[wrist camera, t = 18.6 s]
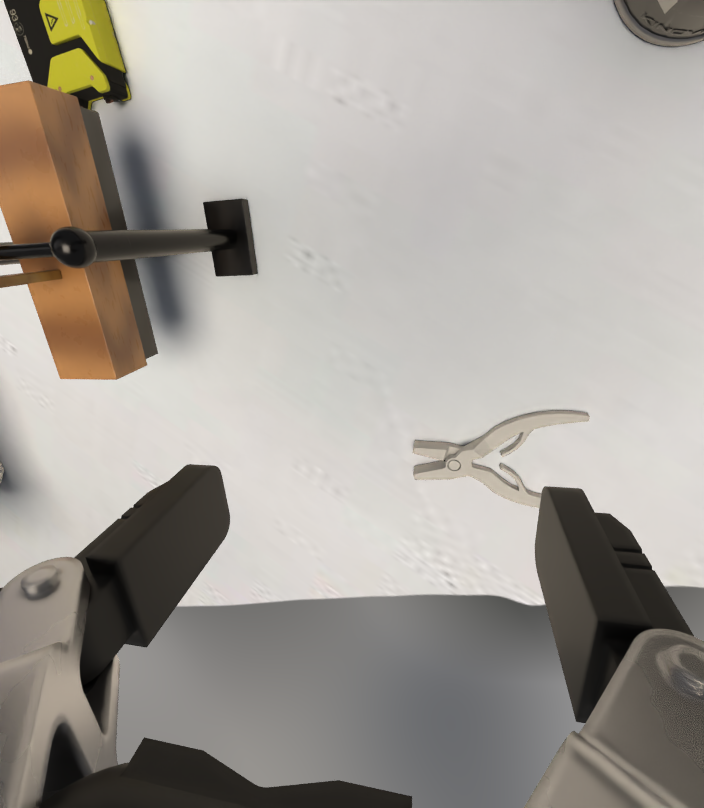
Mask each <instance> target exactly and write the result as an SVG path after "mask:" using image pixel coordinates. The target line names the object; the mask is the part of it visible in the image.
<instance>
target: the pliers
mask: <svg viewBox="0 0 704 808" xmlns="http://www.w3.org/2000/svg"><path fill="white" fill-rule="evenodd" d="M589 417H590V416H589V415H588V414H587V413H583V412H576V411H565V410H555V411H542V412H536V413H531V414H526V415H522V416H519V417H515V418H513V419H510V420H507V421H505V422H503V423H501V424H499V425H497V426H495V427H494V428H493V429H491V430H490V431H489V432H488V433H486V434H485V435H484V436H482V437H480V438H478V439H476V440H474V441H472V442H471V443H469V444H467V445H466V446H460V445H456V444H452V443H445V442H431V441H416V440H415V443H414V447H413V453H414V454H418V455H422V456H426V457H429V458H433V459H437V460H441V461H437V462H432V463H427V464H422V465H417V466H414V472H413V475H414V478H415V480H443V479H455V478H460V477H466V476H470V477H473V478H475V479H476V480H478V481H480V482H482V483H483V484H484V485H486V486H487V487H488V488H489V489H490V490H491V491H492V492H494V493H496V494H498V495H499V496H501V497H503V498H505V499H508V500H510V501H513V502H516V503H519V504H523V505H527V506H531V507H536V508H540V501H541V494H539V493H535V492H531V491H528V490H527V489H526V488H525V487H524V486H523V484H522V481H521V479H520V478H519V476H518V475H517V474H516V473H515V472H514V471H513V470H511V469H510V468H509V467H507V466H505V465H503V464H502V463H501V464H500V465H499V466H500V469H501V470H503V471H505V472H506V473H508V474H509V475H510V476H512V477H513V478H514V479H515V481H516V482H517V484H518V487H516V486H514V485H512V484H510V483H508V482H507V481H506V480H504V479H503V478H502V477H500V476H499V475H498V474H497V473H495V472H494V471H493V470H492V469H490V468H487V467H483V466H479V465H475V464H472V461H473V460H474V459H479V458H483V457H484V456H486V455H487V454H489V453H490V452H491V451H493V450H494V449H496V448H497V447H498V446H500V445H501V444H503V443H504V442H505V441H507V440H509V439H510V438H512V437H513V436H515V435H518V434H520V433H521V434H520V437H519V438H518V439H517V440H516V442H515V443H514V444H512V445H511V446H509V447H508V448H506V449H504V450H502V451H500V453H501V456H502V457H504V456H506V455H508V454H510V453H512V452H513V451H515V450H517V449H518V448H519V447H520V446H521V445H522V444H523V443H524V442H525V440H526V439H527V437H528V435H529V434H530V433H531V432H532V431H533V430H534V429H537V428H541V427H546V426H551V425H556V424H565V423H574V422H588V421H589ZM445 459H446V463H445V462H444V461H443V460H445Z"/></svg>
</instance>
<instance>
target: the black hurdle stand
mask: <svg viewBox="0 0 704 808" xmlns="http://www.w3.org/2000/svg"><path fill="white" fill-rule="evenodd" d="M203 204H204V210H205V216H206V222H207V227H208V229H192V230H82V229H80V228H77V227H73V226H65V227H61V228H59V229H57V230H56V231H55V232H54V233H53V234H52V236H51V238H50V242H39V243H25V244H13V242H4V243H0V265H8V264H20V261H19V259H34V258H50V257H55V258H56V259H57V260H58V261H59V262H60V263H62V264H63V265H65V266H67V267H70V268H76V269H81V268H85V267H88V266H90V265H91V264H92V263H98V262H108V261H118V260H128V259H138V258H148V257H158V256H168V255H178V254H188V253H197V252H207V251H212V256H213V262H214V267H215V273H216V276H237V275H254V274H257V266H256V258H255V251H254V244H253V237H252V230H251V222H250V215H249V208H248V201H247V200H246V199H235V200H224V201H212V202H203Z"/></svg>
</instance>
